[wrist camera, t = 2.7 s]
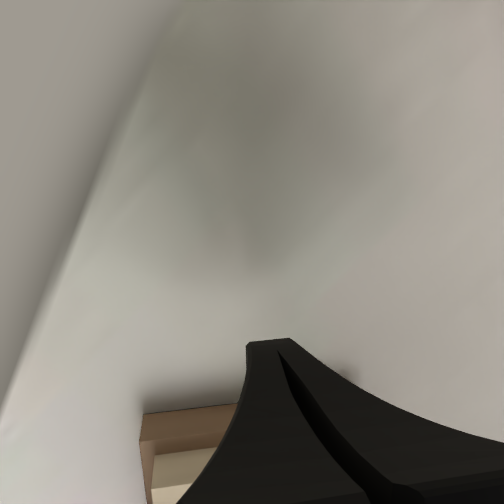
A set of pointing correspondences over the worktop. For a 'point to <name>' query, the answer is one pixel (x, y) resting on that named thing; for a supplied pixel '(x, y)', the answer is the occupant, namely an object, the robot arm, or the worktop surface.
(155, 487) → the birch coaster
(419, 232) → the worktop surface
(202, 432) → the panel
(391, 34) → the worktop surface
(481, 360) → the worktop surface
